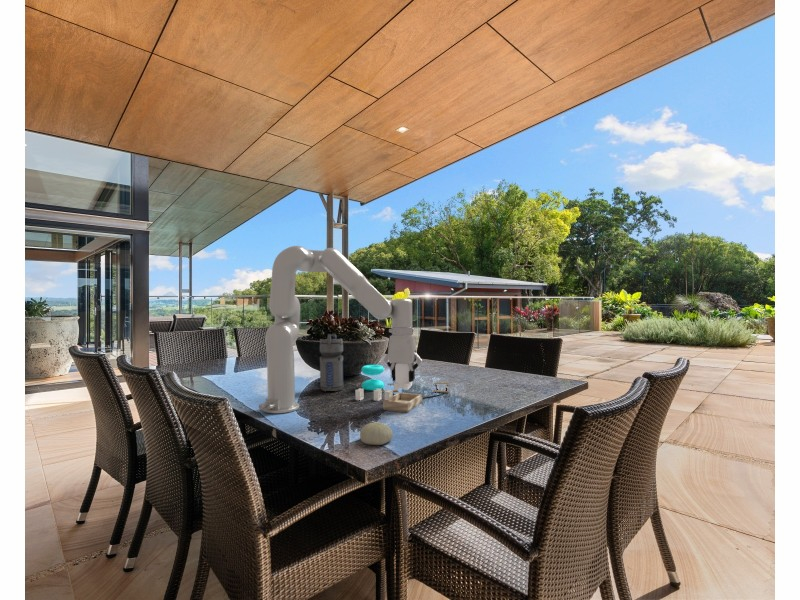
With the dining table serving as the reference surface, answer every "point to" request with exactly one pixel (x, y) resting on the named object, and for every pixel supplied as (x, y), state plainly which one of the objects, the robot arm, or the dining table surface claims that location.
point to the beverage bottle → (331, 363)
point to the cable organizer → (402, 376)
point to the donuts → (372, 383)
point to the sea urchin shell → (376, 434)
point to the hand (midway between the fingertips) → (403, 380)
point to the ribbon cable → (423, 397)
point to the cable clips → (377, 394)
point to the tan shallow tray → (402, 402)
